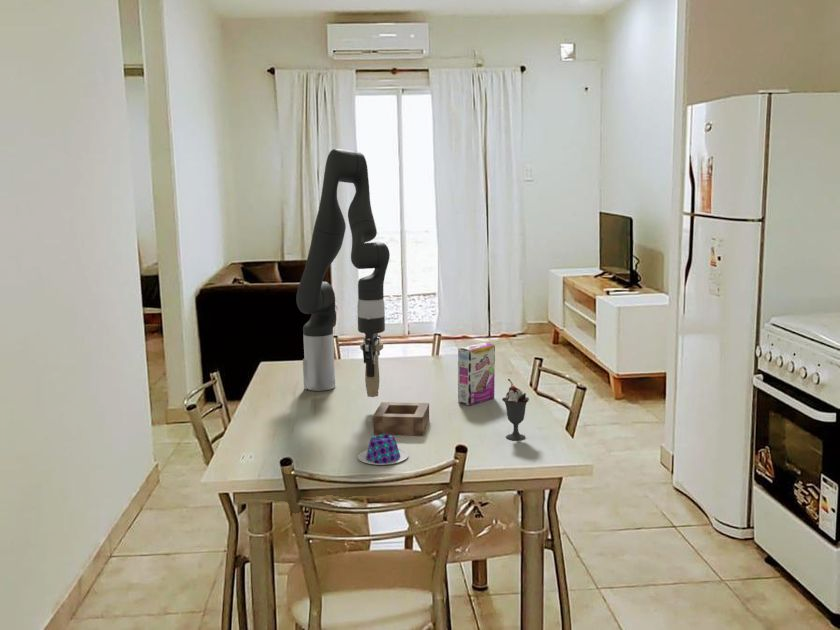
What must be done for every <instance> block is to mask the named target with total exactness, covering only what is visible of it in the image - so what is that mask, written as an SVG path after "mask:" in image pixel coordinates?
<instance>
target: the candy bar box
mask: <svg viewBox="0 0 840 630" xmlns="http://www.w3.org/2000/svg"><path fill="white" fill-rule="evenodd" d="M457 350H458V351H457V353H458V354H457V355H458V356H457V361H458V362H457V366H458V367H457V369H458V370H457V372H458V373H457V374H458V375H457V381H458V382H457V383H458V384H457V385H458V386H457V388H458V390H457V397H458V398H457V403H458V404H463V405H466V406H473V405H475V404H479V403H482V402H485V401H489V400H492V398H493V399H494V398H495V376H496V375H495V367H496V366H495V365H496V364H495V363H496V362H495V361H496V360H495V359H496V353H495V352H496V345H495V344H493V343H492V344H491V343H486V342H480V343H475V344H471V345H467V346H462V347H458V348H457Z"/></svg>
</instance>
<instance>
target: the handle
mask: <svg viewBox="0 0 840 630" xmlns="http://www.w3.org/2000/svg"><path fill="white" fill-rule="evenodd" d="M362 345H363V342H361V343H360V344H359V346H360V347H359V348H360V350H361V351H363V348H362ZM383 349H384V343H383V342H381V341H380V342H379V344H378V345H377V346H376V351H377V355H376V356H375V363H374V364H375V376H374V377H367V375H366V369H365V372H364V373H365V375H364V377H365V379H364V382H365V390H366V394H367V395H366V396H367V397H368V398H370V397H371V398H375V397H378V396H379V390H380V367H379V358H378V357H379V356H378V352H379V351H380V352H381V351H382V350H383ZM372 352H374V350H372ZM368 359H371V358H370V357H368Z"/></svg>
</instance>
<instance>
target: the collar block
mask: <svg viewBox="0 0 840 630" xmlns="http://www.w3.org/2000/svg"><path fill="white" fill-rule="evenodd" d="M429 423H430V403H429V402H393V401H391V402H390V401H387V402H385V401H383V402H382V401H381V403H380V404H379V406H378V407H377V409H376V411H374V414H373V415H372V435H373V436H376V435H382V434H385V435H391V436H399V437H400V436H401V437H402V436H405V437H407V436H408V437H412V436H413V437H424V435H425V433H426V430H427V428H428V426H429Z"/></svg>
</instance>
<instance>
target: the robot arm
mask: <svg viewBox="0 0 840 630" xmlns="http://www.w3.org/2000/svg"><path fill="white" fill-rule="evenodd" d="M368 169H369V168H368V164H367V160H366V157H365V155H364V154H363V153H362V152H359V151H353V150H349V149H348V150H347V149H341V148H333V149H331V150H330V151H329V153H328V155H327V158H326V162H325V167H324V172H323V173H324V174H323V181H322V189H321V196H320V200H319V206H318V211H317V215H316V219H315V223H314V227H313V231H312V237H311V242H310V246H309V250H308V255H307V258H306V262H305V267H304V269H303V272H302V275H301V279H300V282H299V285H298V287H297V290H296V296H295V297H296V305H297V309H298V310H299V311H300V312H301V313H303V314H305V315H311V316H310V318H309V319H308V321H307V322H306V323H304V324H303V327H302V331H303V335H302V336H303V350H304V351H303V352H304V353H303V355H304V358H302V372H303V373H302V375H303V378H302V379H303V389H304V390H307V389H308V391H314V392H321V391H322V392H323V391H328V390H332V389H334V388H336V373H335V372H336V371H335V370H336V368H335V349H334V348H335V347H334V344H335V343H334V327H335V325H336V294H335V290H334V288H333V286H332V285H331V284H330V283H329V282H326V281H324V278H325V275H326V272H327V271H328V269H329V268H330V266H331V265H332V263H333V262H334V261H335V260H336V257H337V256H338V254H339V253H340V250H341V248H342V246H343V243H344V237H345V233H346V228H347V227H346V221H345V218H344V215H343V211H342V210H341V207H340V205H339V200H338V186H339V183H340V182H341V183H348V184H353V186H354V187H355V194H354V196H353V198H352V201H351V202H350V204H349V207H348V210H347V219H348V224H349V228H350V233H351V252H350V261H351V264H352V265H353V266H354V267H355V268H356V269H358V270H365V269H366V270H368V269H374V270H373V272H371V274H369V275H367V276H364V277H361V278H359V279H358V283H357V298H358V299H357V300H358V301H357V331H358V332H359V333H361V334H364V335H365V336H364V337H365V338H363V340H362V341H363V342H362V343H363V345H362V348H363V350H362V356H363V364H365V370H366V375H367V377H374V376H375V364H374V363H375V356H376V355H377V351H376V346H377V345H378V344H379V342H380V343H381V333H384V332H385V330H386V323H385V322H386V317H385V315H386V313H385V312H386V311H385V310H386V309H385V300H384V283H385V277H386V272H387V269H388V265H389V261H390V255H391V254H390V250H389V247H388V245H387V244H385V243H384V242H380V241H379V242H378V241H377V242H370V241H372V240H374V239H375V238H376V237H377V233H378V231H377V225H376V223H375V218H374V215H373V214H374V213H373V210H372V205H371V204H372V203H371V198H370V197H371V195H370V194H371V193H370V182H369V181H370V180H369V171H368ZM372 350H374V352H372ZM380 352H381V350H380V351H379V352H378V359H379V356H380V355H381V353H380ZM368 357H370V358H371V359H368Z"/></svg>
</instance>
